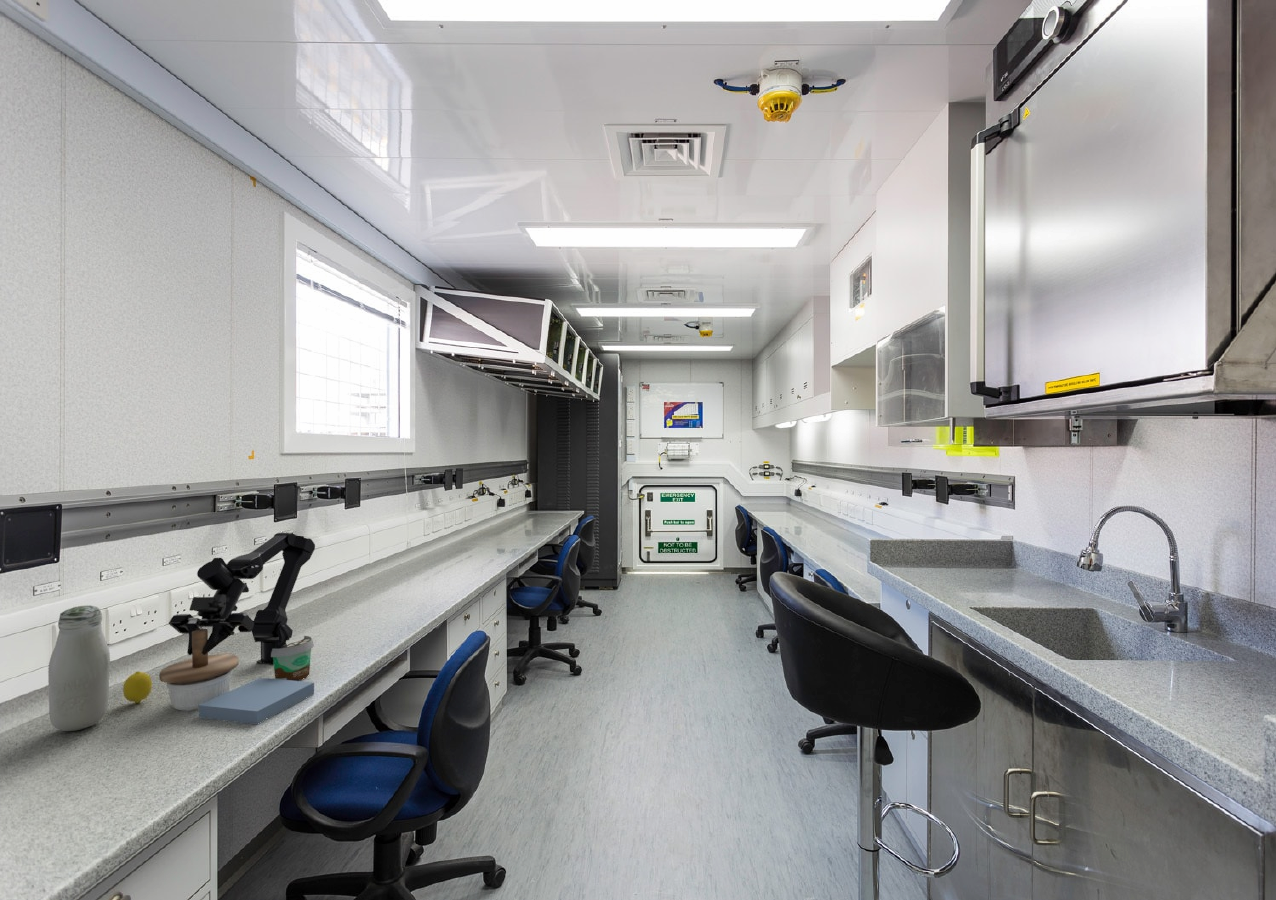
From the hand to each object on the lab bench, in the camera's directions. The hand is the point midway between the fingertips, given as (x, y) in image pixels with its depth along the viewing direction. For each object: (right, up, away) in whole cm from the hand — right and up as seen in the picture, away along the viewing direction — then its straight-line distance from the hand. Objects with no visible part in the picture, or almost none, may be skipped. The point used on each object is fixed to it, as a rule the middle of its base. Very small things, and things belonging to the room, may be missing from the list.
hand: (196, 654), depth 145 cm
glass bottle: (-17, -13, -12) cm, 25 cm away
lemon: (-15, -13, +1) cm, 20 cm away
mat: (+17, -12, -1) cm, 21 cm away
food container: (+17, -12, +16) cm, 26 cm away
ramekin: (0, -13, +1) cm, 13 cm away
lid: (0, -5, +1) cm, 5 cm away
